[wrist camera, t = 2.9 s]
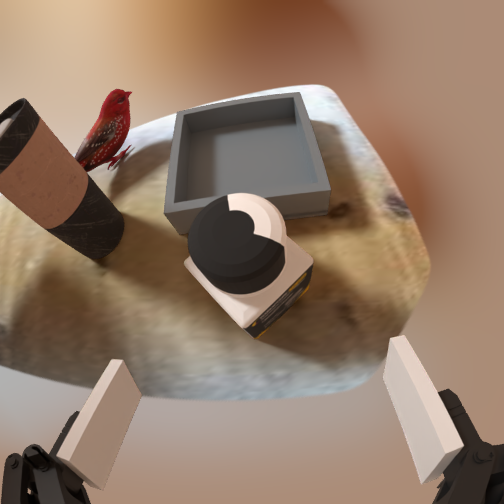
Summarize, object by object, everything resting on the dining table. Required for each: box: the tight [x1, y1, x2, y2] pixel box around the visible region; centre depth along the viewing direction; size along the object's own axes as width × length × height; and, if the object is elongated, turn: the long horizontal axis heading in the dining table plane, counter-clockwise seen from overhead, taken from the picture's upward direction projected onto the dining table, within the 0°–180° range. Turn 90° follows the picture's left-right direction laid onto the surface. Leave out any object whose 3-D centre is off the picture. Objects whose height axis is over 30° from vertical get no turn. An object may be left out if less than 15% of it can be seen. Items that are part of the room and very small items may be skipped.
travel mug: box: [0, 98, 124, 259], centre depth 24 cm, size 8×8×20 cm
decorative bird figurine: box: [75, 89, 132, 172], centre depth 33 cm, size 3×18×10 cm, turn 143°
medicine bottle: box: [184, 193, 313, 339], centre depth 22 cm, size 7×7×12 cm
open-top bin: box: [164, 92, 331, 235], centre depth 32 cm, size 16×16×4 cm
